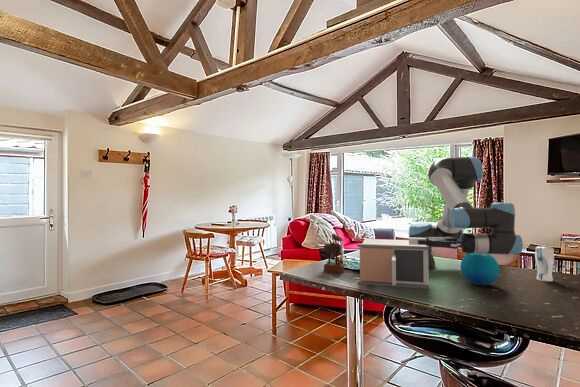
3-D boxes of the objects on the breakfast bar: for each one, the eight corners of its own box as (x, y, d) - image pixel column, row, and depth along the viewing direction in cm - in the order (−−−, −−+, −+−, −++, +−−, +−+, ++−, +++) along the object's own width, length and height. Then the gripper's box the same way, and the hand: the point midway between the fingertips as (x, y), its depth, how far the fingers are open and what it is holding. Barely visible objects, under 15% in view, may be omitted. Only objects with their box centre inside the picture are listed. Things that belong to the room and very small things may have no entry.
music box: (350, 270, 176) (348, 233, 175) (340, 276, 168) (338, 237, 166) (325, 266, 186) (323, 231, 184) (315, 272, 177) (312, 235, 176)
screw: (338, 264, 190) (337, 263, 195) (347, 264, 191) (345, 262, 195) (338, 242, 190) (336, 240, 195) (346, 241, 190) (344, 240, 195)
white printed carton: (554, 279, 154) (554, 247, 154) (553, 282, 149) (553, 249, 149) (536, 277, 159) (536, 245, 159) (534, 280, 154) (533, 247, 154)
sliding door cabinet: (357, 284, 152) (357, 244, 151) (361, 274, 169) (360, 238, 168) (429, 288, 143) (428, 246, 143) (425, 278, 160) (424, 240, 160)
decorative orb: (457, 286, 146) (457, 251, 146) (463, 278, 158) (463, 246, 158) (497, 292, 137) (497, 255, 137) (501, 283, 149) (501, 250, 149)
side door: (357, 288, 140) (356, 252, 140) (360, 280, 153) (359, 247, 153) (396, 291, 135) (395, 254, 135) (395, 282, 148) (395, 248, 148)
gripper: (478, 256, 123) (409, 253, 130) (470, 249, 135) (408, 247, 142) (478, 236, 122) (409, 234, 129) (470, 231, 135) (408, 229, 142)
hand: (409, 241), depth 136 cm, fingers closed
